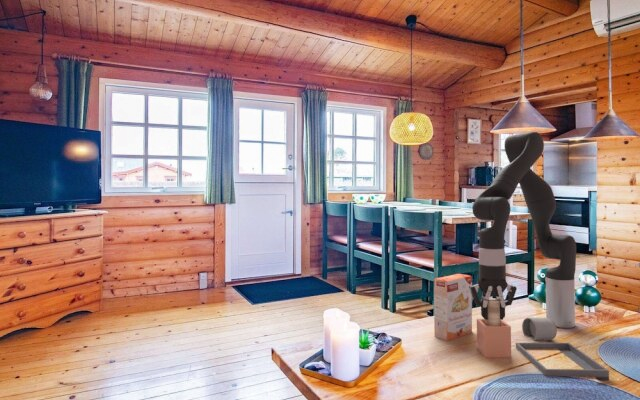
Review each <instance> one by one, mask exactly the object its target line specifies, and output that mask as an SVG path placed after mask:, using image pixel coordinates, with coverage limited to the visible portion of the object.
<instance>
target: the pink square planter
mask: <svg viewBox="0 0 640 400" xmlns="http://www.w3.org/2000/svg"><path fill="white" fill-rule="evenodd" d="M476 348H477V349H478V350H479V352H480V353H481V354H482V355H483V357H484V358H512V327H511V325H510V324H508V323H507V322H506V321H505V320H504V319H503V320H500V326H486V320H485V319H484V318H476Z"/></svg>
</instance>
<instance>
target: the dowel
mask: <svg viewBox="0 0 640 400" xmlns="http://www.w3.org/2000/svg"><path fill="white" fill-rule="evenodd" d="M487 308H488V320H486V326H500V300H499V299H497V298H493V297H490V298H489V301H488V303H487Z"/></svg>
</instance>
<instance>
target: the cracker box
mask: <svg viewBox="0 0 640 400" xmlns="http://www.w3.org/2000/svg"><path fill="white" fill-rule="evenodd" d="M433 282H434V283H433V285H434V286H433V287H434V288H433V289H434V291H433V292H434V293H433V296H434V297H433V298H434V302H433V303H434V310H433V311H434V313H433V314H434V317H433V318H434V337H435V338H438V339H441V340H443V341H447V342H448V341H451V340H454V339H456V338H460V337H463V336H465V335H468V334H470V333H472V332H473V312H472V311H473V297H472V294H471V291H470V289H469V286H470V285H472V286H473V277H472V275H469V274H464V273H463V274H462V273H456V274H451V275H446V276H440V277H436V278H434V280H433Z"/></svg>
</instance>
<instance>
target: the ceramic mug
mask: <svg viewBox="0 0 640 400" xmlns="http://www.w3.org/2000/svg"><path fill="white" fill-rule="evenodd" d="M521 330H522V333H523V336H527V337H528V336H532V338H534V339H533V341H546V342H547V341H551V340H552V341H553V340H554V339H555V338H556V336H557V334H558V333H557V332H558V330H557V327H556V326H555V324H554V322H553V321H552V320H551V319H548V318H546V317H532V316H530V317H529V316H528V317H525V318H524V319H523V320H522V325H521Z"/></svg>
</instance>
